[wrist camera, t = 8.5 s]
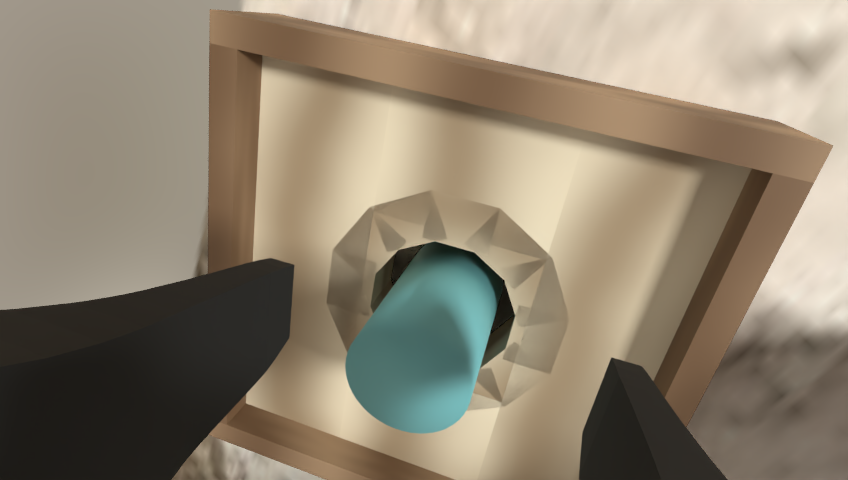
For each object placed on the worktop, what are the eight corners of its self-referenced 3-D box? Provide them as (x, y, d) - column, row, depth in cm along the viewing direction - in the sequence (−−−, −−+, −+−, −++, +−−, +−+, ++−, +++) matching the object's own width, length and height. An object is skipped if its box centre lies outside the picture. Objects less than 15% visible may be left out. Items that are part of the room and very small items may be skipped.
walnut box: (777, 121, 17) (833, 145, 13) (599, 503, 24) (603, 585, 20) (276, 13, 20) (209, 9, 16) (255, 381, 27) (206, 433, 24)
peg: (520, 301, 21) (496, 412, 15) (440, 334, 23) (389, 447, 17) (471, 220, 21) (426, 301, 14) (393, 260, 22) (321, 349, 16)
